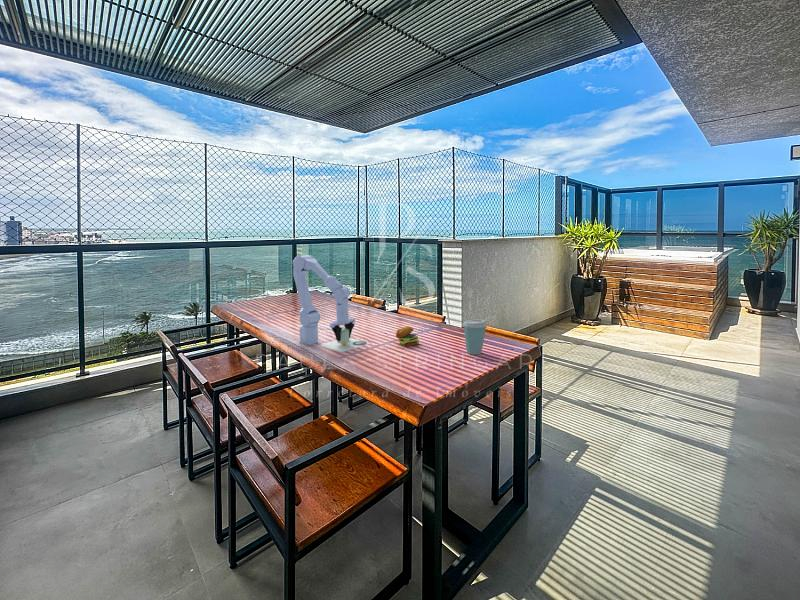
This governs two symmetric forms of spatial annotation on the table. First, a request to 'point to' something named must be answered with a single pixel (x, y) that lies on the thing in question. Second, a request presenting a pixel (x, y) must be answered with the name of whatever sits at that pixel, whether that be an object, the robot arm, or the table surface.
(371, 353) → the table surface
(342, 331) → the green acorn nut
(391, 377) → the table surface
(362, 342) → the coaster
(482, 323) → the disposable coffee cup
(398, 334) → the cheeseburger
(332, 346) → the mat
